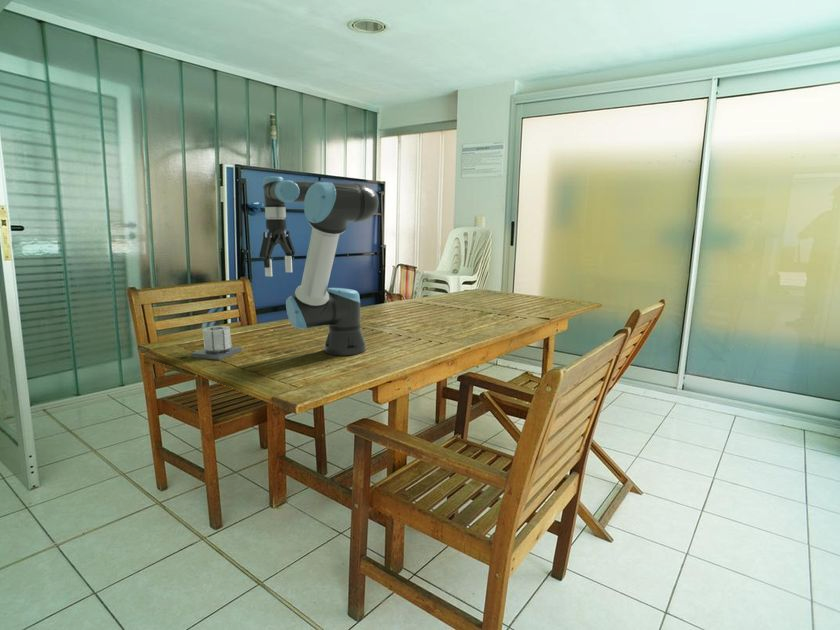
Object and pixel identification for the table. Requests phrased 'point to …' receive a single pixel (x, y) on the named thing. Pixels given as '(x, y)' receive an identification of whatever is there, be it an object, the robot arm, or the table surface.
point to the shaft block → (216, 353)
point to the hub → (217, 338)
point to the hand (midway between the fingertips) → (279, 274)
